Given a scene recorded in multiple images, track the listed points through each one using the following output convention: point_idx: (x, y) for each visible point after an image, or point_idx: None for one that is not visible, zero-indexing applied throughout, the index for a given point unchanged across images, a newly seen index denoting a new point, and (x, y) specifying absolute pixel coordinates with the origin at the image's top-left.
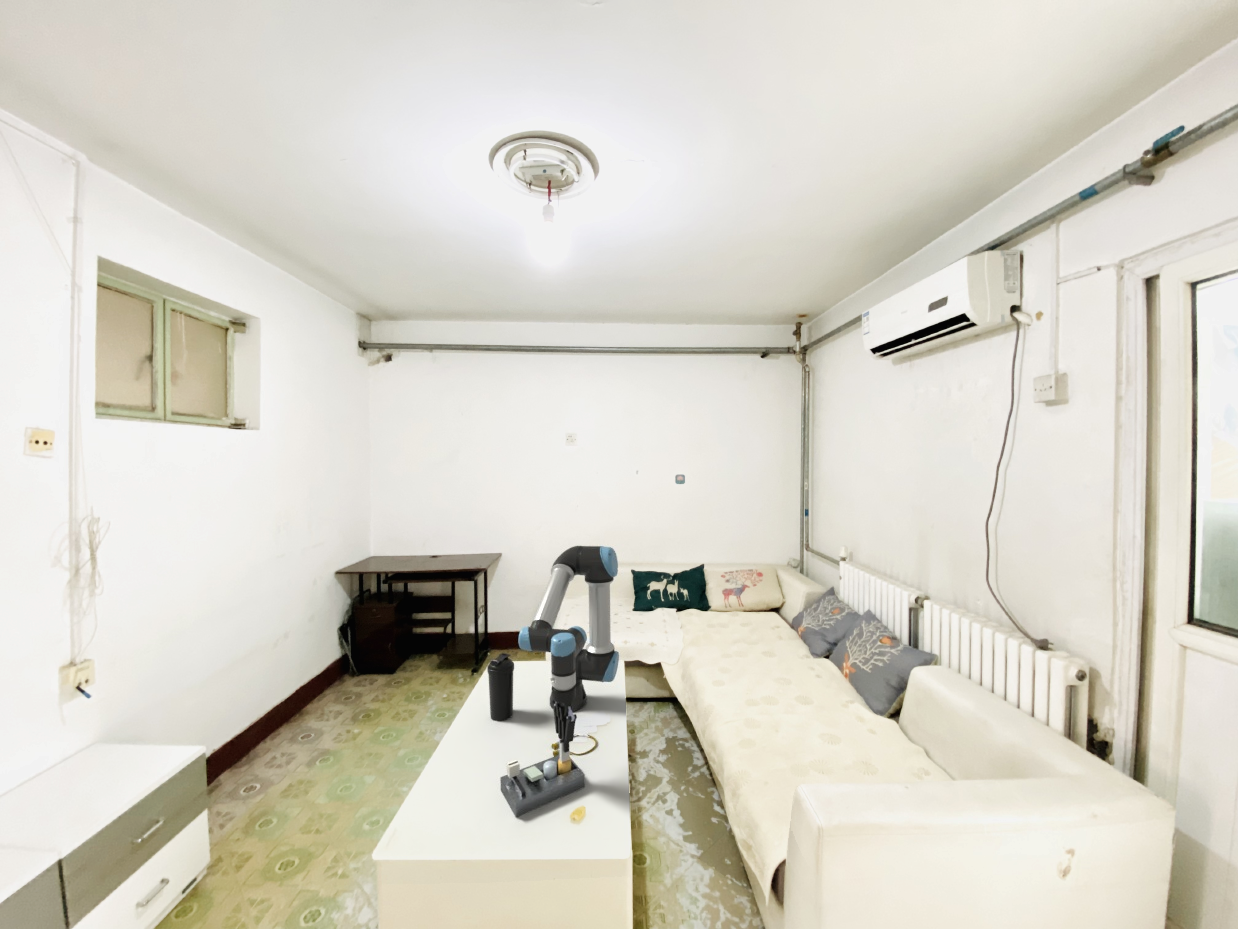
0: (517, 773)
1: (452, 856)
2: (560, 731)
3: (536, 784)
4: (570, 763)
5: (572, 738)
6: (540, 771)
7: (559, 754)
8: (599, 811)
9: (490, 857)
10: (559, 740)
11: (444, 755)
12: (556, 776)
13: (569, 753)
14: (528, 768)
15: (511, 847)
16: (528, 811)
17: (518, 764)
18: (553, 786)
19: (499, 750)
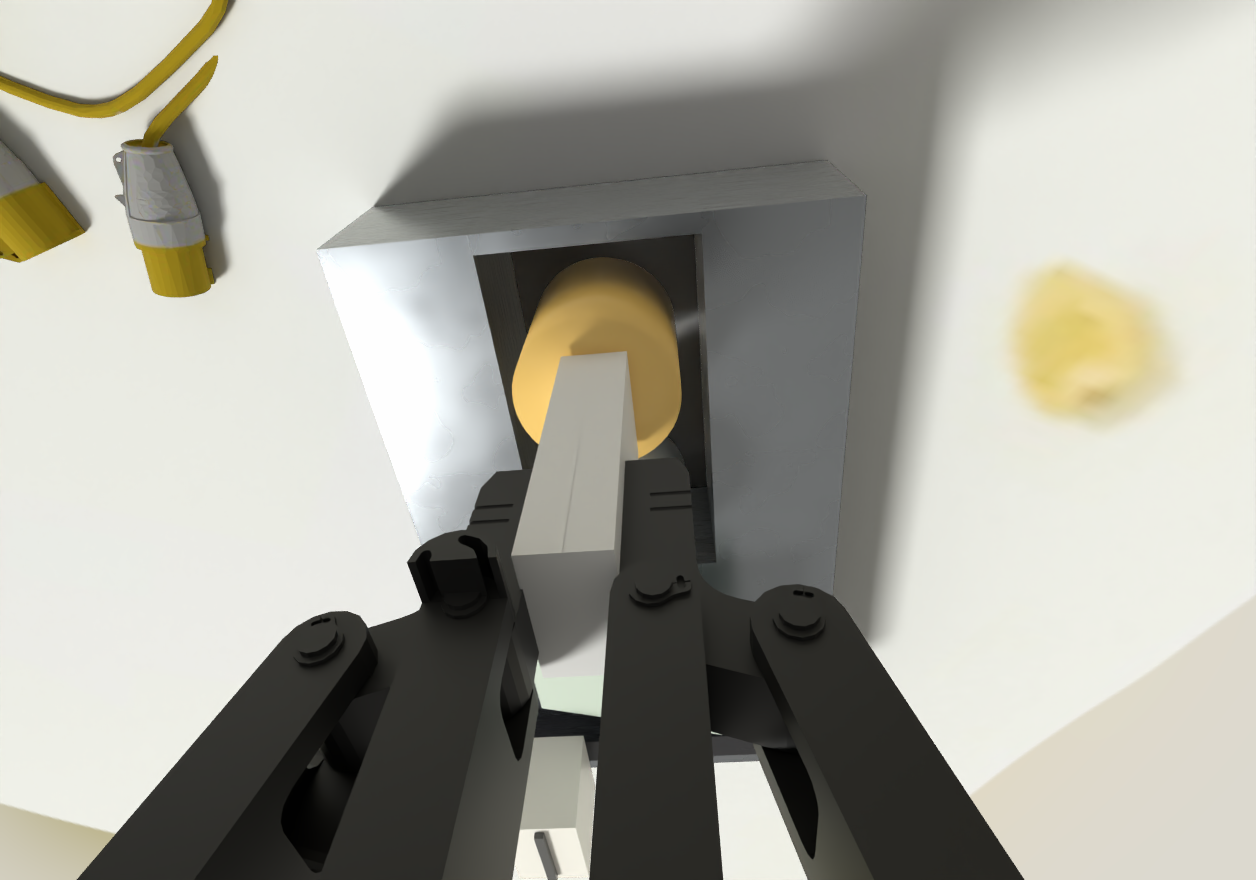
0: (585, 761)
1: None
2: (513, 815)
3: None
4: (660, 336)
5: (868, 669)
6: None
7: (198, 228)
8: (1229, 161)
9: (969, 790)
10: (548, 665)
11: (94, 825)
12: (661, 445)
13: (185, 98)
14: (538, 679)
15: (989, 726)
16: None
17: (578, 832)
18: (825, 538)
19: (59, 620)
